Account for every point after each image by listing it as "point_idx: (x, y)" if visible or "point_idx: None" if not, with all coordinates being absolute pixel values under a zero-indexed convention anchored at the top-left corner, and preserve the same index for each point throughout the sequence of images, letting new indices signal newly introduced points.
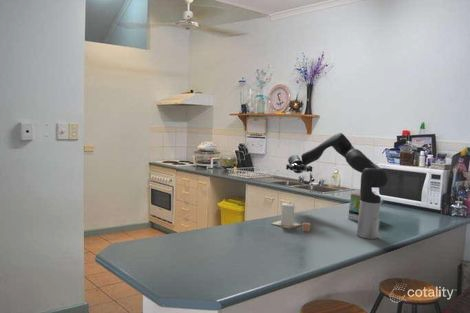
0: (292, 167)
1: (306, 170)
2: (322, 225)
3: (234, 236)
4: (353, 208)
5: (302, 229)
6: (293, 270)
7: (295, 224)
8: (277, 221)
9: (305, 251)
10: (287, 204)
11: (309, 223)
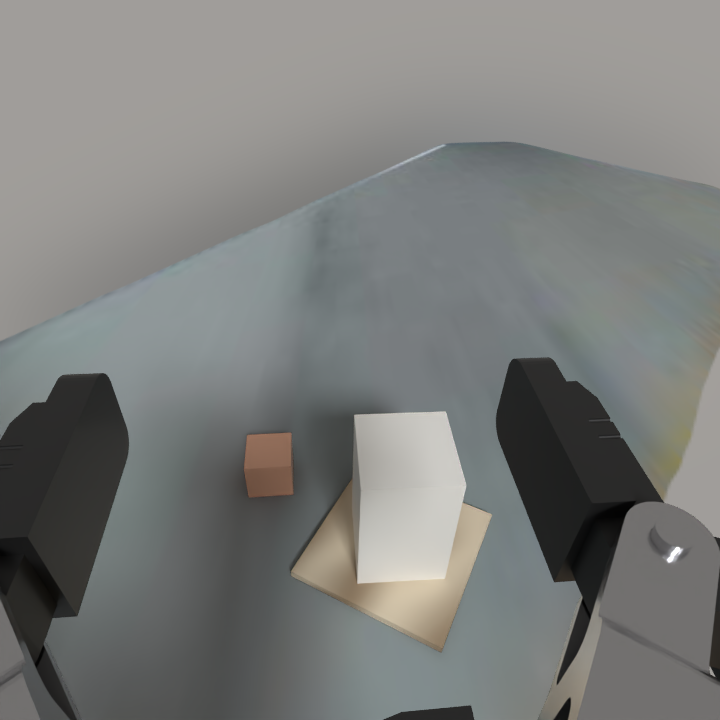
0: (514, 369)
1: (53, 661)
2: (102, 655)
3: (562, 313)
4: None
5: (293, 469)
6: (343, 202)
7: (333, 547)
8: (468, 573)
9: (306, 272)
10: (413, 443)
11: (248, 457)
